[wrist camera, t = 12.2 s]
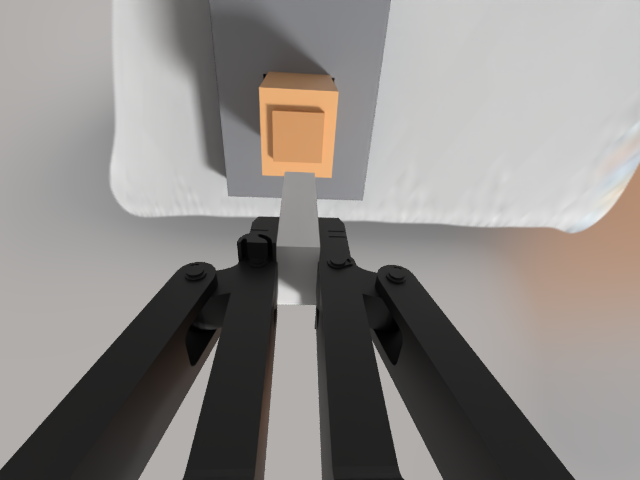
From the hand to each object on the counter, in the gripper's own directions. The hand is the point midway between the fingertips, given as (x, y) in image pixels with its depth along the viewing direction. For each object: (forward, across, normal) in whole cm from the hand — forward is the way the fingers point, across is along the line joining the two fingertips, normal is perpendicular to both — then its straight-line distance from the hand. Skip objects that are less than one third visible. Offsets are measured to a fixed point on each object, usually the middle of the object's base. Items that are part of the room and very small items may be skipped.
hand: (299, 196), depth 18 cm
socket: (+25, 0, 0) cm, 25 cm away
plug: (+23, 0, 0) cm, 23 cm away
